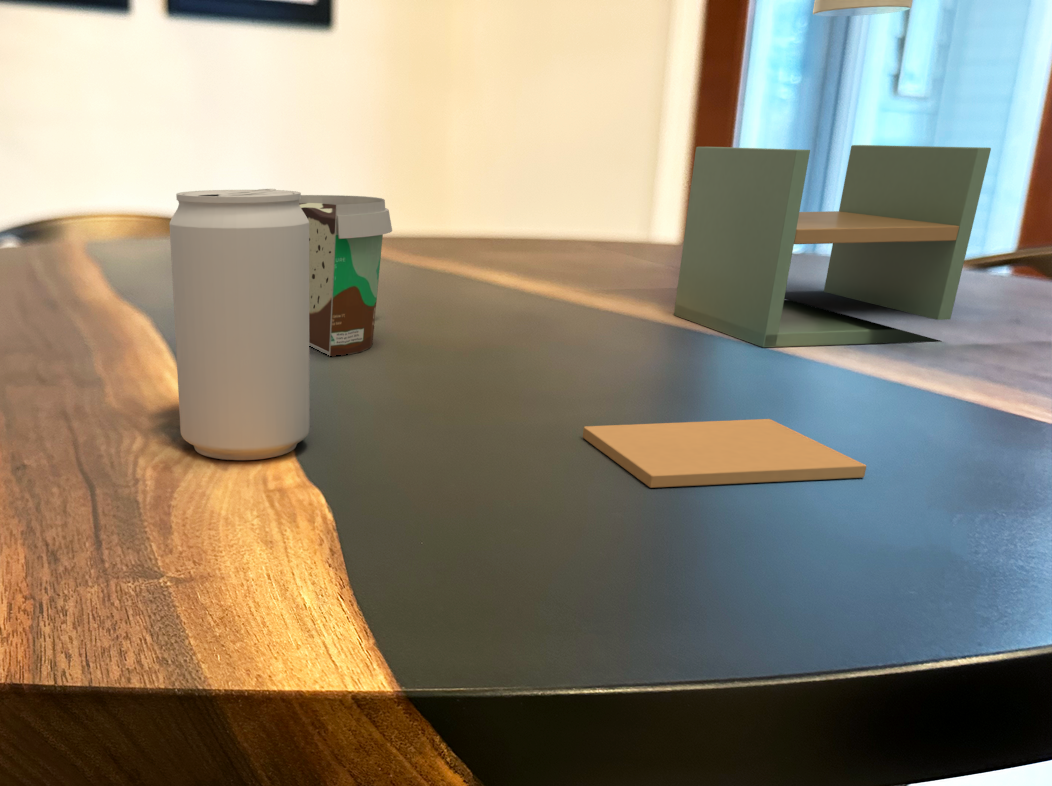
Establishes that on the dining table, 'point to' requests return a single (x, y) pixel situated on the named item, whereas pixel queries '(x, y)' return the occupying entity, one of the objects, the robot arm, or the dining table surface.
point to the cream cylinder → (859, 7)
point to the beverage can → (241, 321)
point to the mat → (719, 453)
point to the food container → (344, 269)
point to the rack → (826, 240)
